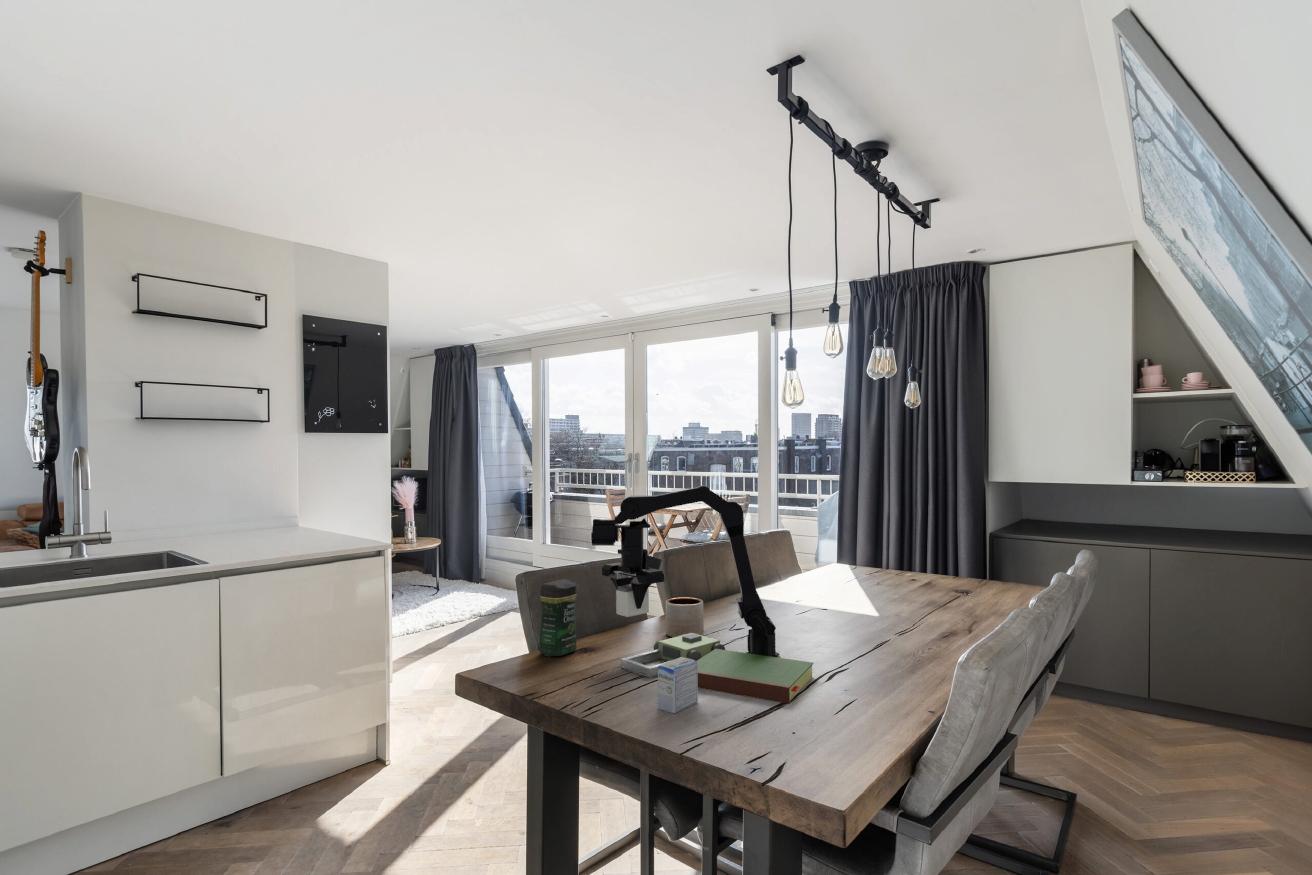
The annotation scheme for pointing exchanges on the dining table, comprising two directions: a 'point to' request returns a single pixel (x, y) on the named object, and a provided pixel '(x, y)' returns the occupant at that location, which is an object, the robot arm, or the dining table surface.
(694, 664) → the medicine box
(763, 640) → the robot arm
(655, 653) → the gray rectangular open frame
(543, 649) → the coffee jar
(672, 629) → the planter
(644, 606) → the chute block
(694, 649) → the green wheeled cart
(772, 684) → the hardcover book
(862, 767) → the dining table surface
